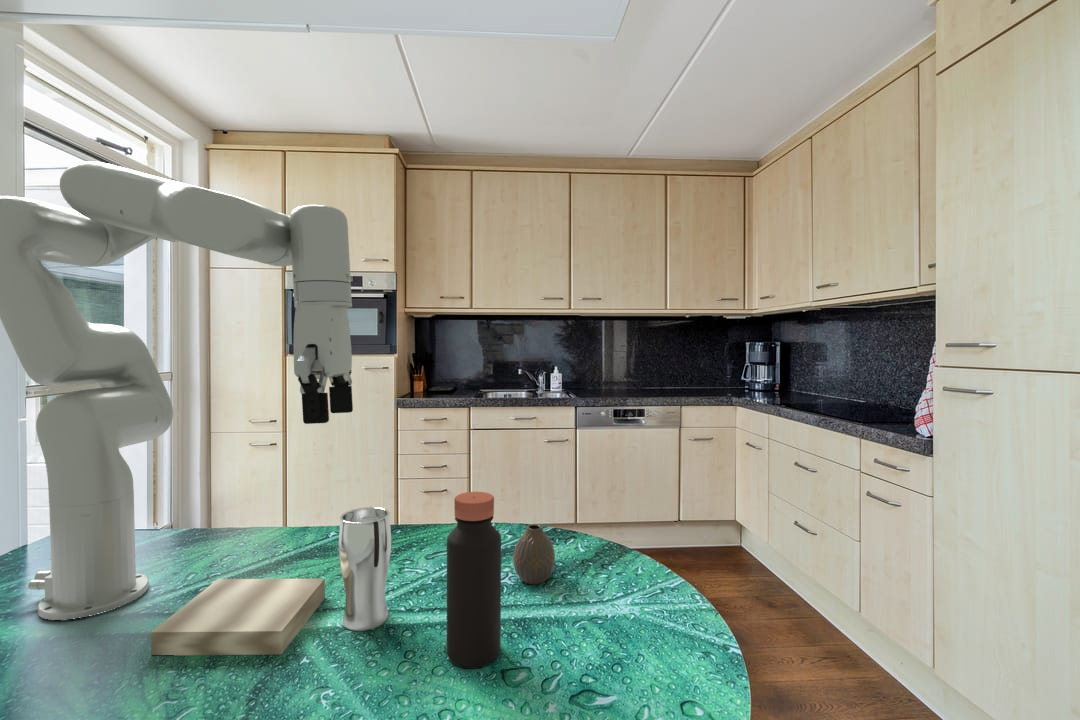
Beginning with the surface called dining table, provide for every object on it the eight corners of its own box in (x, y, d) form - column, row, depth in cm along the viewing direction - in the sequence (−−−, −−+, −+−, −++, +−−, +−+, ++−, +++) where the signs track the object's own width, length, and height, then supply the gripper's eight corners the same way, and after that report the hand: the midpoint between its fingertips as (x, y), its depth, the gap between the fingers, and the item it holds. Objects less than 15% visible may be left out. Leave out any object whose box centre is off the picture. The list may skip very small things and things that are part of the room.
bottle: (486, 675, 61) (486, 509, 60) (436, 662, 63) (436, 502, 62) (509, 643, 67) (510, 492, 66) (463, 632, 70) (463, 486, 69)
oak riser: (151, 655, 64) (150, 632, 64) (218, 598, 78) (217, 579, 78) (281, 654, 65) (281, 631, 64) (324, 597, 79) (324, 578, 78)
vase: (506, 583, 84) (506, 530, 83) (523, 566, 90) (523, 517, 90) (545, 592, 81) (546, 537, 81) (560, 573, 87) (561, 522, 87)
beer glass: (375, 636, 69) (375, 525, 68) (328, 629, 70) (327, 521, 69) (400, 609, 75) (399, 508, 75) (356, 603, 77) (356, 504, 76)
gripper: (320, 302, 81) (326, 410, 82) (266, 292, 64) (274, 429, 65) (368, 300, 81) (373, 408, 82) (327, 290, 64) (334, 426, 65)
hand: (329, 417), depth 73 cm, fingers open, 9 cm apart
